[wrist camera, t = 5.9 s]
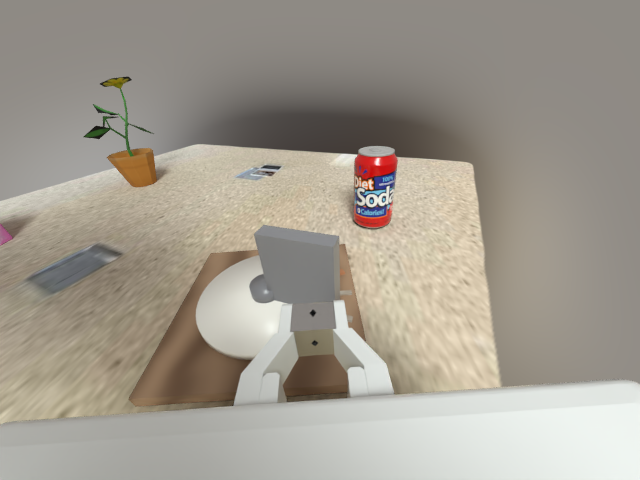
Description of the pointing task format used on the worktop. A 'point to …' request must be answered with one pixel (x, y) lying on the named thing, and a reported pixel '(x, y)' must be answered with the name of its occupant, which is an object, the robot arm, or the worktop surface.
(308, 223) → the worktop surface
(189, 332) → the dial board
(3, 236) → the gum box
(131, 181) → the potted plant
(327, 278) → the dial
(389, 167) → the soda can
